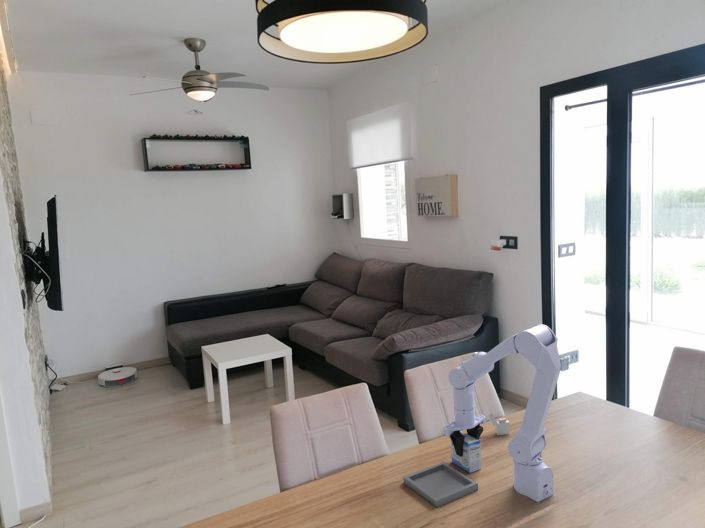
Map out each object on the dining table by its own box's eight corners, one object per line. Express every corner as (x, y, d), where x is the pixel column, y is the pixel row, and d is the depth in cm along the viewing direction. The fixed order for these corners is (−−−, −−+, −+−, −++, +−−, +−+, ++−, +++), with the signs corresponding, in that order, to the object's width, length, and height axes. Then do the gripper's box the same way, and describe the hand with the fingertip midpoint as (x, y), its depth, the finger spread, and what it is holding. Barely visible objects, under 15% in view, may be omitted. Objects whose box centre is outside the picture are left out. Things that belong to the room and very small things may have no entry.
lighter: (507, 432, 163) (506, 409, 163) (510, 434, 162) (509, 411, 161) (487, 435, 162) (486, 411, 162) (489, 437, 161) (488, 413, 160)
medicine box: (451, 462, 147) (450, 434, 146) (462, 457, 149) (461, 430, 148) (469, 473, 140) (468, 444, 139) (481, 469, 142) (480, 439, 141)
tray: (478, 489, 132) (477, 483, 131) (436, 507, 125) (436, 501, 125) (443, 467, 144) (443, 461, 144) (403, 483, 137) (403, 476, 137)
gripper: (473, 397, 149) (475, 440, 151) (435, 408, 142) (437, 454, 144) (490, 404, 143) (492, 449, 145) (451, 417, 136) (453, 464, 137)
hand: (466, 452), depth 144 cm, fingers closed on medicine box, 4 cm apart
